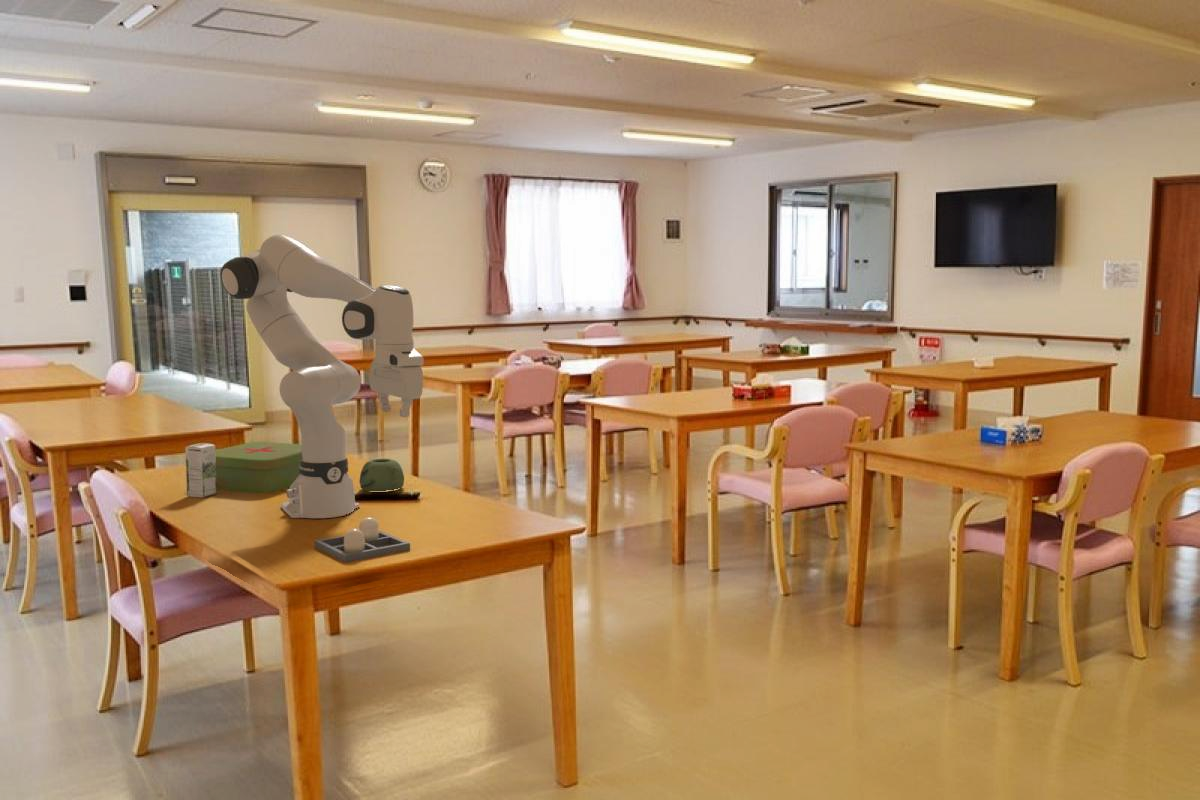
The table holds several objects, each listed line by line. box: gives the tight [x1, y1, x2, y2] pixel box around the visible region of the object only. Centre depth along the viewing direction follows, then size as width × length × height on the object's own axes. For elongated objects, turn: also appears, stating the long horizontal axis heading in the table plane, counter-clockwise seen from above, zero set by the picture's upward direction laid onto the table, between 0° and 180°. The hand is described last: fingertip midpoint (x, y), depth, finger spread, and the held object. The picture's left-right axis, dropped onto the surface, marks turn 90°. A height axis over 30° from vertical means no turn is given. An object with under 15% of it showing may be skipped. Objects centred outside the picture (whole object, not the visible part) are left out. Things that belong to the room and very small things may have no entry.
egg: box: [358, 516, 380, 541], centre depth 231 cm, size 4×4×6 cm
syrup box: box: [184, 442, 218, 499], centre depth 284 cm, size 6×6×14 cm
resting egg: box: [344, 528, 365, 554], centre depth 221 cm, size 4×4×6 cm
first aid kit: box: [215, 441, 302, 494], centre depth 302 cm, size 26×26×10 cm
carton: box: [314, 529, 411, 564], centre depth 226 cm, size 16×16×2 cm
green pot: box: [359, 458, 405, 492], centre depth 291 cm, size 16×13×9 cm
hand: (395, 414), depth 237 cm, fingers open, 8 cm apart
